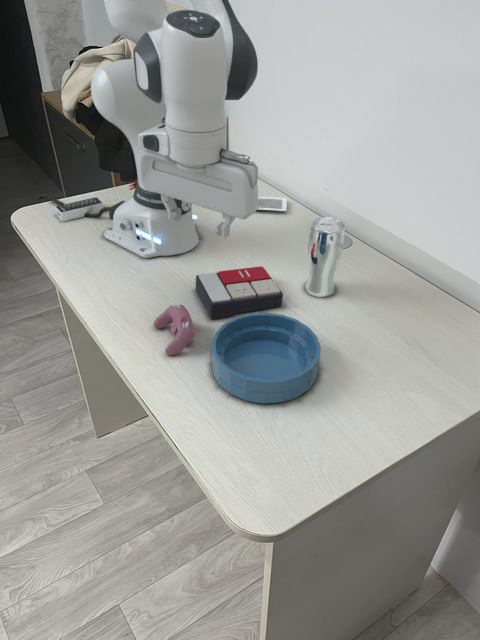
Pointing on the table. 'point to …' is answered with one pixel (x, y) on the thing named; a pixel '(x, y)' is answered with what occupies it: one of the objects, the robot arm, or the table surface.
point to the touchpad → (272, 203)
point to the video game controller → (177, 327)
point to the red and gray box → (237, 291)
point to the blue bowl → (265, 357)
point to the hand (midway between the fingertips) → (198, 227)
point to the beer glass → (324, 255)
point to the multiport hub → (79, 209)
